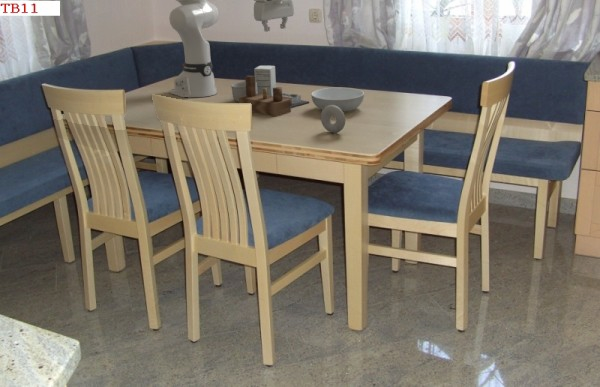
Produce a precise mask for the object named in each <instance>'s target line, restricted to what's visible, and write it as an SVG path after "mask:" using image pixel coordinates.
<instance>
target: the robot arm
mask: <svg viewBox="0 0 600 387" xmlns="http://www.w3.org/2000/svg"><path fill="white" fill-rule="evenodd" d="M175 1H177V3H179V4H180V5H179V6H178V7H175V8H174V9H172V10H171V12H170V13H169V19H168V20H169V24H170V26H171V28H172V29H173V30H175V31H176V32H177V34H178V35H179V37H180V38H181V42H182V46H183V51H184V63H182V64H181V67H183V68H182V71H181V72H180V74H178V76H176V78H175V79H174V84H173V86H174V87H173V88H172V89H169V94H173V95H175V96H177V97H181V98H184V97H188V98H203V97H210V96H214V95H216V94H217V93H218V92H217V91H218V88H217V87H216V83H215V82H216V81H215V76H214V72H213V71H212V70H213V64H212V63H213V62H212V60H211V48H210V43H209V41H207V40H206V38H204V36H203V34H202V29H207V28H210V27H212V26H213V25H215V24H216V23H217V22H218V20H219V16H220V15H219V14H220V13H219V10H218V8H217V5H215V4H214V3H211V1H208V0H175ZM253 1H254V4H253V18H254V20H255V21H257V22H261V24H262V26H263V31H264V32H270V31H271V28H270V26H269V25H268V22H269V21H271V20H276V19H281V20H282V21H281V23H280V25H279V26H280V27H279V28H280V29H283V30H284V29H286V28H287V23H288V19H289V17H293V16H294V14H295V9H294V2H293V0H253Z"/></svg>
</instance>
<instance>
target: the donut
mask: <svg viewBox="0 0 600 387" xmlns="http://www.w3.org/2000/svg"><path fill="white" fill-rule="evenodd" d="M344 113H345V112H343V111H342V110H341V109H340V108H339V107H337V106H335V105H329V106H327V107H325V108H324V109H323V110H322V111H321V113H320V121H321V124H322V127H323V128H324V129H325V130H326V131H327V132H330V133H332V134H337V133H340V132H341V131H342V130H343V129H345V128H344V127H345V125H346V116H345V114H344ZM331 116H333V117H334V118H335V123H334V122H332V119H331Z"/></svg>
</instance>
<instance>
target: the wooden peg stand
mask: <svg viewBox="0 0 600 387" xmlns="http://www.w3.org/2000/svg"><path fill="white" fill-rule="evenodd" d="M244 78H245V79H244V81H246V95H245V96H241V97H239V103H251V104H252V112H251V113H256V114H261V115H266V116H271V117H278V116H281V115H285V114H289V113H291V112H292V108H291V103H290V99H285V98H282V93H283V87H281V86H276V87H275V88H273V96H268V95H267V88H263V94H257V93H256V90H255V75H252V74H251V75H245V77H244ZM239 103H238V104H239Z"/></svg>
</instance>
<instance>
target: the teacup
mask: <svg viewBox="0 0 600 387" xmlns="http://www.w3.org/2000/svg"><path fill="white" fill-rule="evenodd" d="M230 88H231V93H232V98H233V100H234V101H235V102H237V103H238V104H239V97H241V96H245V95H246V81H245V80H244V81H239V82H235V83H233V84H231V86H230ZM255 90H256V93H257V94H258V91H257V82H255Z"/></svg>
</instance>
